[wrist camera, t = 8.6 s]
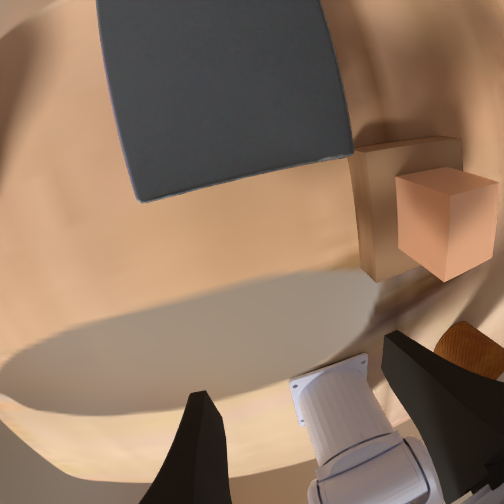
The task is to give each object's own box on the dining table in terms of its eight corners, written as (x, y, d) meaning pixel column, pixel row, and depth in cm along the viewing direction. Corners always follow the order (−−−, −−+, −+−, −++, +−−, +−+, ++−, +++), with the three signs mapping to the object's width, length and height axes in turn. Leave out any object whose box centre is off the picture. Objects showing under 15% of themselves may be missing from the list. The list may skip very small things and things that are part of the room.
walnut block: (439, 235, 22) (461, 248, 19) (357, 264, 21) (376, 283, 19) (435, 135, 18) (460, 139, 15) (343, 148, 18) (364, 152, 15)
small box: (141, 18, 12) (84, -72, 2) (243, -4, 12) (280, -108, 3) (175, 168, 16) (127, 213, 7) (280, 142, 17) (368, 156, 7)
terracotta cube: (446, 231, 18) (492, 257, 13) (398, 248, 18) (443, 282, 13) (446, 166, 16) (498, 182, 11) (395, 176, 16) (449, 195, 11)
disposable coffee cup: (484, 300, 26) (543, 354, 15) (462, 355, 30) (508, 409, 19) (434, 322, 25) (500, 395, 14) (414, 379, 29) (459, 446, 18)
